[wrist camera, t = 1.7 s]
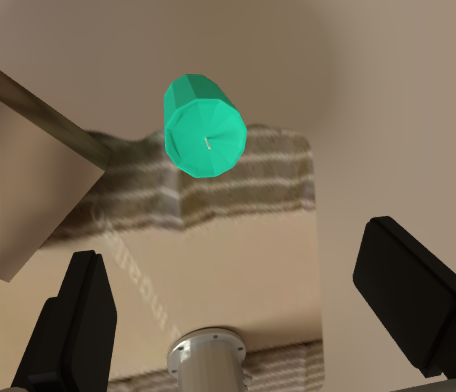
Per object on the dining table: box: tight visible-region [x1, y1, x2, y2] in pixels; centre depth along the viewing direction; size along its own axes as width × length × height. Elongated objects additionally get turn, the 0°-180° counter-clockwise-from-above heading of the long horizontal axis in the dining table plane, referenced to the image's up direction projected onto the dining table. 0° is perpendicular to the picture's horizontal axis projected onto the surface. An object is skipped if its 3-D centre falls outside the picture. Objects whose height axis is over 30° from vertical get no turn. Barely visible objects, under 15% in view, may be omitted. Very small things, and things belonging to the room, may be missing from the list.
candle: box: [164, 74, 247, 178], centre depth 26 cm, size 6×6×12 cm
